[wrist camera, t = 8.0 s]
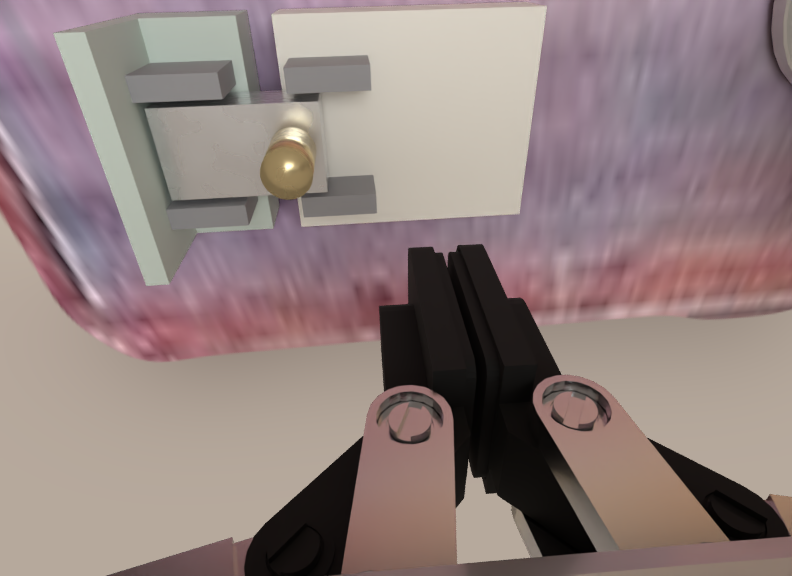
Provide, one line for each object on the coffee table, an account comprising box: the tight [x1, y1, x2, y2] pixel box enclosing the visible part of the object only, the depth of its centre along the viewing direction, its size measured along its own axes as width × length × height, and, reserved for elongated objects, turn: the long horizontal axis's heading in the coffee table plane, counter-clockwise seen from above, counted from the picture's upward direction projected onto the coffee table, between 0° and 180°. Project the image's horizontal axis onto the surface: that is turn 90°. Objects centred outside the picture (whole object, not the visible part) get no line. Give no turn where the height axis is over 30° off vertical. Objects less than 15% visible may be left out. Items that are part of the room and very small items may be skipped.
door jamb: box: [53, 10, 279, 286], centre depth 22 cm, size 5×10×8 cm, turn 1°
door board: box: [271, 2, 547, 227], centre depth 24 cm, size 12×10×6 cm
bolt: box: [145, 90, 329, 201], centre depth 21 cm, size 7×4×6 cm, turn 91°
